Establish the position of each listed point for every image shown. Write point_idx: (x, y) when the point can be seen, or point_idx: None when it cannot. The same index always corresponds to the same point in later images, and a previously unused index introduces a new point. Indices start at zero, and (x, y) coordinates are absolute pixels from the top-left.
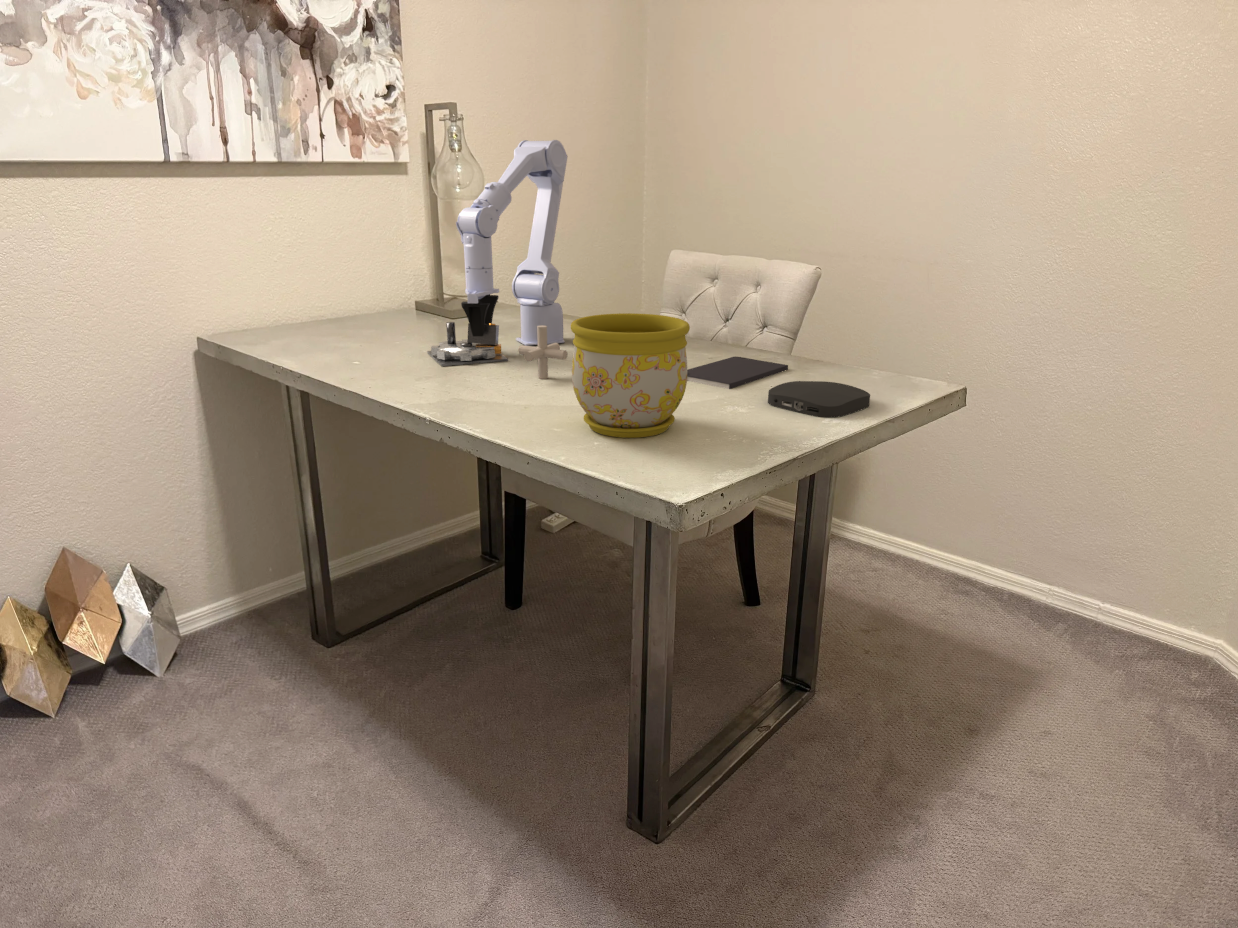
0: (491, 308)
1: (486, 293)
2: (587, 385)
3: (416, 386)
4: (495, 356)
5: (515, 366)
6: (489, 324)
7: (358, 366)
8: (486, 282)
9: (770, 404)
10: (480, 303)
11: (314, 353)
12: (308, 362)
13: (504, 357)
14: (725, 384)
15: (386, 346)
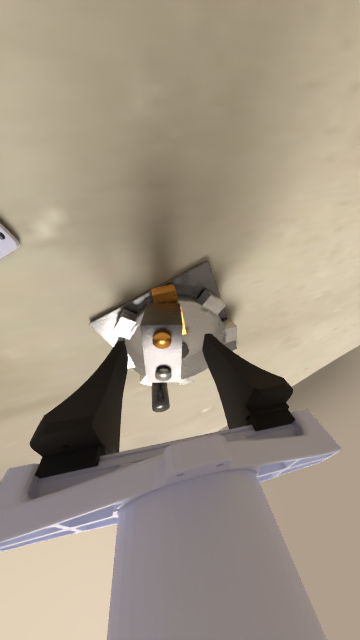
0: (110, 387)
1: (269, 448)
2: None
3: (321, 338)
4: (186, 291)
5: (255, 234)
6: (169, 344)
7: (221, 403)
8: (280, 549)
9: None
10: (265, 408)
11: (168, 440)
12: (202, 429)
13: (196, 271)
14: None
15: (122, 423)
